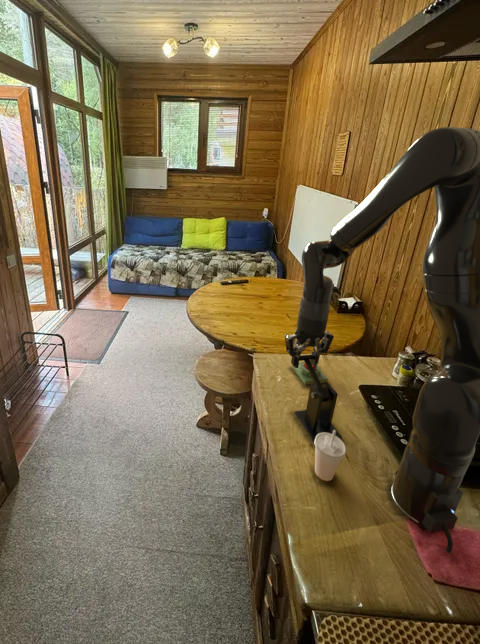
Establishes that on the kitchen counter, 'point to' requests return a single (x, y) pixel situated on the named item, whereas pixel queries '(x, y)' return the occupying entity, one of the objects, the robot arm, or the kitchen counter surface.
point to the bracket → (318, 412)
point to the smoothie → (328, 454)
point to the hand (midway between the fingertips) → (304, 365)
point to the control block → (306, 375)
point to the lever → (315, 376)
